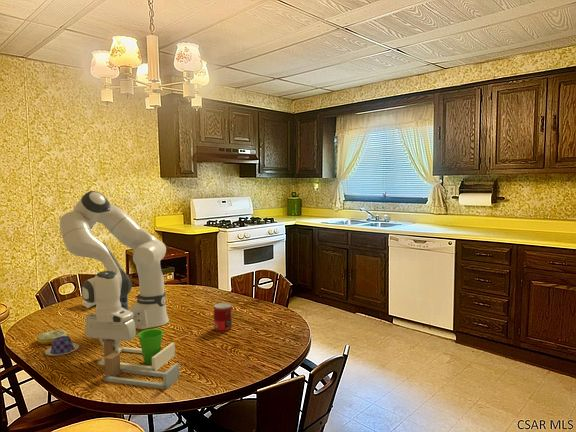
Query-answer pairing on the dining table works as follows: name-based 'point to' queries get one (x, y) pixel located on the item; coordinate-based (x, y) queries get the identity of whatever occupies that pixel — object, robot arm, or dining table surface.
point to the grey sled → (114, 369)
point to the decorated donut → (50, 336)
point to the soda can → (124, 302)
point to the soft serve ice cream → (87, 304)
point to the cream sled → (156, 360)
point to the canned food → (222, 317)
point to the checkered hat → (61, 346)
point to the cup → (150, 343)
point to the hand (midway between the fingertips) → (111, 349)
